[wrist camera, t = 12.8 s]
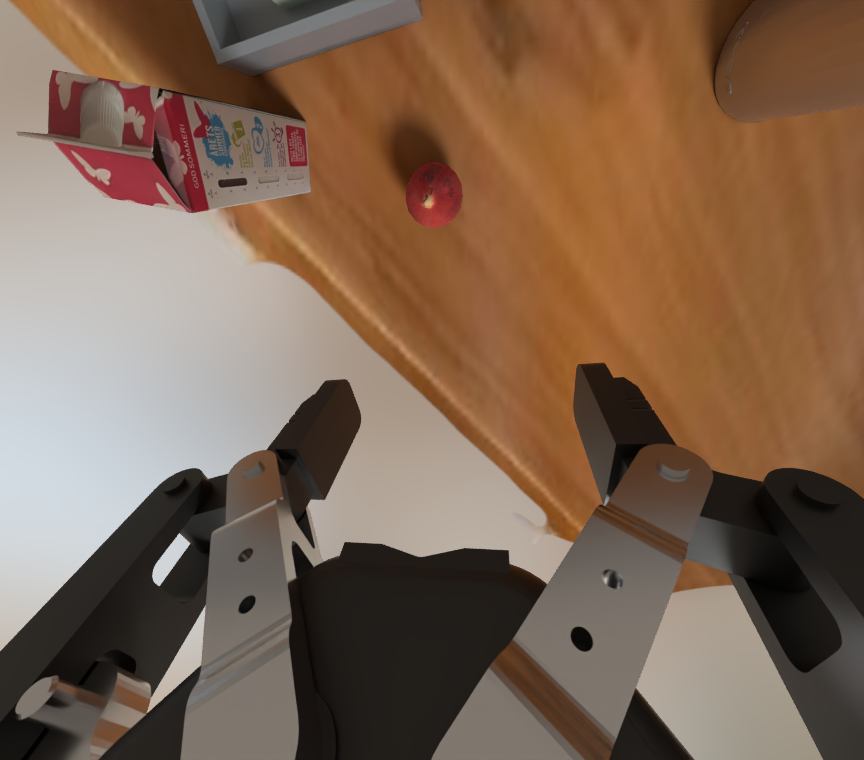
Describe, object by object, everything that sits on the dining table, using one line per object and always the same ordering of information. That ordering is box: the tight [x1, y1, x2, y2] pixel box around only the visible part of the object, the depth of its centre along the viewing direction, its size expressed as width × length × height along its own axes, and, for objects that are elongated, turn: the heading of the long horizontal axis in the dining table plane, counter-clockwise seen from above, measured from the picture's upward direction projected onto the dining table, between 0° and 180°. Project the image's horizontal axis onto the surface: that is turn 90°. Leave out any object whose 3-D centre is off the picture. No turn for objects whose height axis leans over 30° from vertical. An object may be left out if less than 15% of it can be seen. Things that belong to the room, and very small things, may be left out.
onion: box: [406, 161, 463, 228], centre depth 33 cm, size 6×6×8 cm
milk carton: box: [17, 70, 311, 213], centre depth 27 cm, size 7×7×22 cm
